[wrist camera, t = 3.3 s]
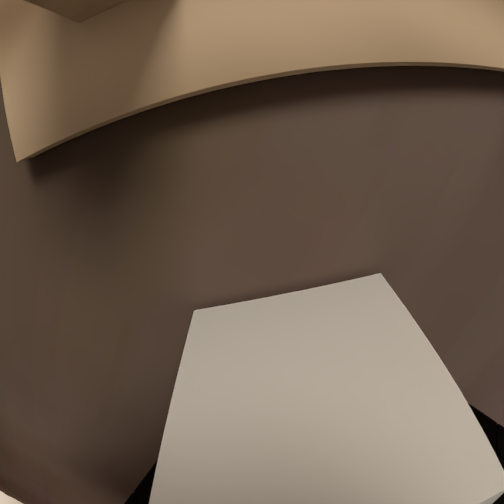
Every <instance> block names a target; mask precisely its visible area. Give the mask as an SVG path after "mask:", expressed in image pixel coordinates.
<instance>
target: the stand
mask: <svg viewBox="0 0 504 504" xmlns="http://www.w3.org/2000/svg"><path fill="white" fill-rule="evenodd" d="M381 66H446V67H463V68H476V69H486V70H495V71H503V72H504V0H0V76H1V84H2V91H3V98H4V104H5V110H6V116H7V121H8V126H9V131H10V136H11V140H12V145H13V149H14V153H15V157H16V161H17V162H19V161H22V160H26V159H29V158H33V157H35V156H37V155H39V154H41V153H43V152H45V151H47V150H49V149H51V148H54V147H56V146H58V145H60V144H62V143H64V142H67V141H69V140H71V139H73V138H76V137H78V136H80V135H82V134H85V133H87V132H90V131H92V130H94V129H97V128H99V127H102V126H104V125H107V124H110V123H112V122H115V121H118V120H120V119H123V118H126V117H129V116H131V115H134V114H137V113H140V112H143V111H146V110H149V109H152V108H155V107H158V106H161V105H165V104H168V103H171V102H174V101H178V100H181V99H185V98H188V97H192V96H196V95H199V94H203V93H207V92H211V91H215V90H219V89H223V88H228V87H232V86H237V85H241V84H246V83H251V82H256V81H261V80H267V79H272V78H278V77H284V76H290V75H297V74H304V73H311V72H320V71H328V70H338V69H349V68H363V67H381Z"/></svg>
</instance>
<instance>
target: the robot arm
mask: <svg viewBox="0 0 504 504" xmlns="http://www.w3.org/2000/svg"><path fill="white" fill-rule="evenodd" d="M468 405H469V406H470V408H471V410H472V411H473V413H474V415H475V417H476V418H477V420H478V422H479V424H480V426H481V427H482V429H483V431H484V433H485V435H486V437H487V438H488V440H489V442H490V444H491V446H492V448H493V450H494V452H495V454H496V456H497V458H498V460H499V462H500V464H501V466H502V468H503V470H504V427H503V426H501V425H500V424H497V422H495V421H494V420H492V419H491V418H489V417H488V416H486V415H485V414H483V413H482V412H480V411H479V410H478V409H476V408H475V407H473V406H472V405H470V404H469V403H468ZM157 461H158V460H157ZM157 461H156V463H155V464H154V465H153V467H152V468H151V469H150V471H149V472H148V473H147V475H146V476H145V477H144V479H143V480H142V481H141V483H140V484H139V485H138V487H137V488H136V489H135V490H134V493H132V494H131V495H130V497H129V498H128V499H127V501H126V502H125V503H124V504H149V500H150V495H151V490H152V485H153V480H154V475H155V471H156V466H157ZM492 504H504V493H503V494H502V495H501V496H500V497H499V498H498V499H497V500H496V501H495V502H493V503H492Z"/></svg>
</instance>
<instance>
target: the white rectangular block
mask: <svg viewBox="0 0 504 504" xmlns="http://www.w3.org/2000/svg"><path fill="white" fill-rule="evenodd" d="M503 493H504V470H503V468H502V466H501V464H500V462H499V460H498V458H497V456H496V454H495V452H494V450H493V448H492V446H491V444H490V442H489V440H488V438H487V437H486V435H485V433H484V431H483V429H482V427H481V426H480V424H479V422H478V420H477V418H476V417H475V415H474V413H473V411H472V410H471V408H470V406H469V405H468V403H467V401H466V399H465V398H464V396H463V394H462V393H461V391H460V389H459V388H458V386H457V384H456V383H455V381H454V380H453V378H452V376H451V375H450V373H449V372H448V370H447V368H446V367H445V365H444V364H443V362H442V361H441V359H440V357H439V356H438V354H437V353H436V351H435V350H434V348H433V347H432V345H431V344H430V342H429V341H428V339H427V338H426V336H425V335H424V333H423V332H422V330H421V329H420V327H419V326H418V324H417V323H416V322H415V320H414V319H413V317H412V316H411V314H410V313H409V312H408V310H407V309H406V307H405V306H404V305H403V303H402V302H401V300H400V299H399V298H398V296H397V295H396V293H395V292H394V291H393V289H392V288H391V287H390V285H389V284H388V283H387V281H386V280H385V279H384V277H383V276H382V275H381V273H379V274H375V275H370V276H366V277H362V278H357V279H353V280H348V281H344V282H339V283H335V284H330V285H325V286H320V287H316V288H311V289H306V290H301V291H296V292H291V293H286V294H281V295H276V296H271V297H266V298H260V299H255V300H250V301H244V302H239V303H233V304H228V305H222V306H216V307H210V308H205V309H199V310H194V313H193V316H192V320H191V324H190V328H189V331H188V335H187V339H186V343H185V347H184V351H183V355H182V359H181V363H180V367H179V371H178V375H177V379H176V383H175V387H174V391H173V395H172V399H171V404H170V408H169V412H168V416H167V421H166V425H165V429H164V434H163V438H162V443H161V447H160V452H159V456H158V461H157V466H156V471H155V475H154V480H153V485H152V490H151V495H150V500H149V504H492V503H493V502H495V501H496V500H497V499H498V498H499V497H500V496H501V495H502V494H503Z"/></svg>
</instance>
